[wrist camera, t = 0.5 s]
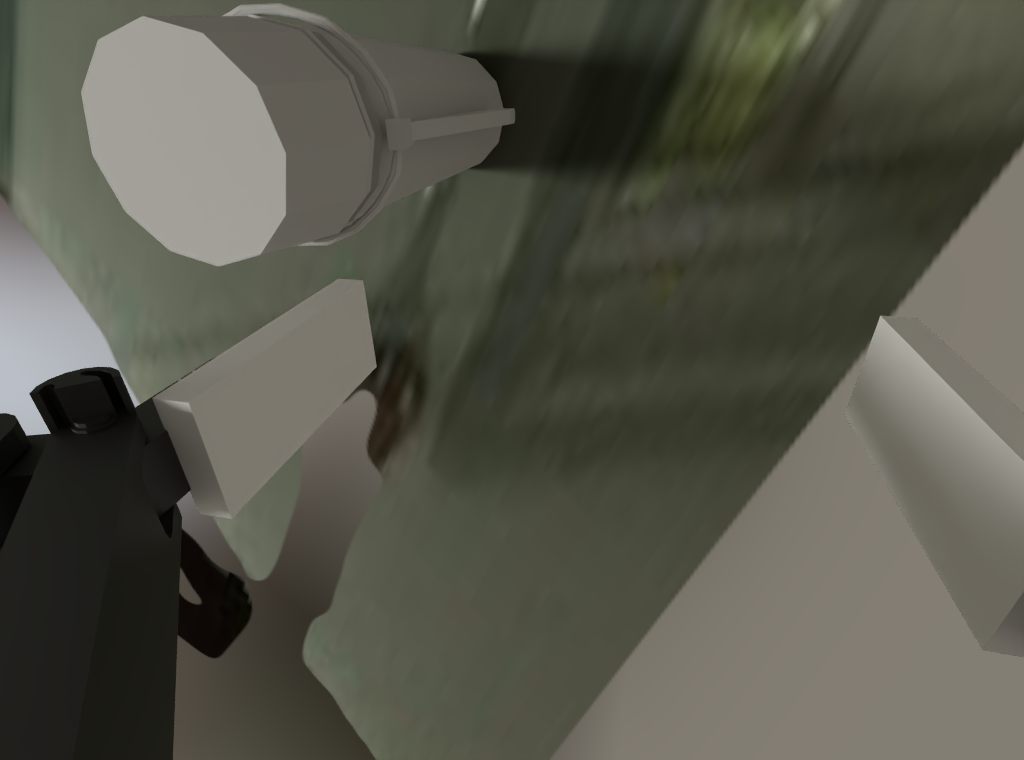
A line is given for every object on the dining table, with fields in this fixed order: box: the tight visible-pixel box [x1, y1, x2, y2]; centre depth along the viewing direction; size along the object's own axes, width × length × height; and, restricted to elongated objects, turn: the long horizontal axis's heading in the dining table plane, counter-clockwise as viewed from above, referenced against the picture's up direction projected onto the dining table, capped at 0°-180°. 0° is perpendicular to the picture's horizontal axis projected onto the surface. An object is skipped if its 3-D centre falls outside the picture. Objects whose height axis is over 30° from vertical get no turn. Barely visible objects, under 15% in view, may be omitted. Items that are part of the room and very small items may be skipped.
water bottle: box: [81, 3, 515, 266], centre depth 25 cm, size 9×8×25 cm
